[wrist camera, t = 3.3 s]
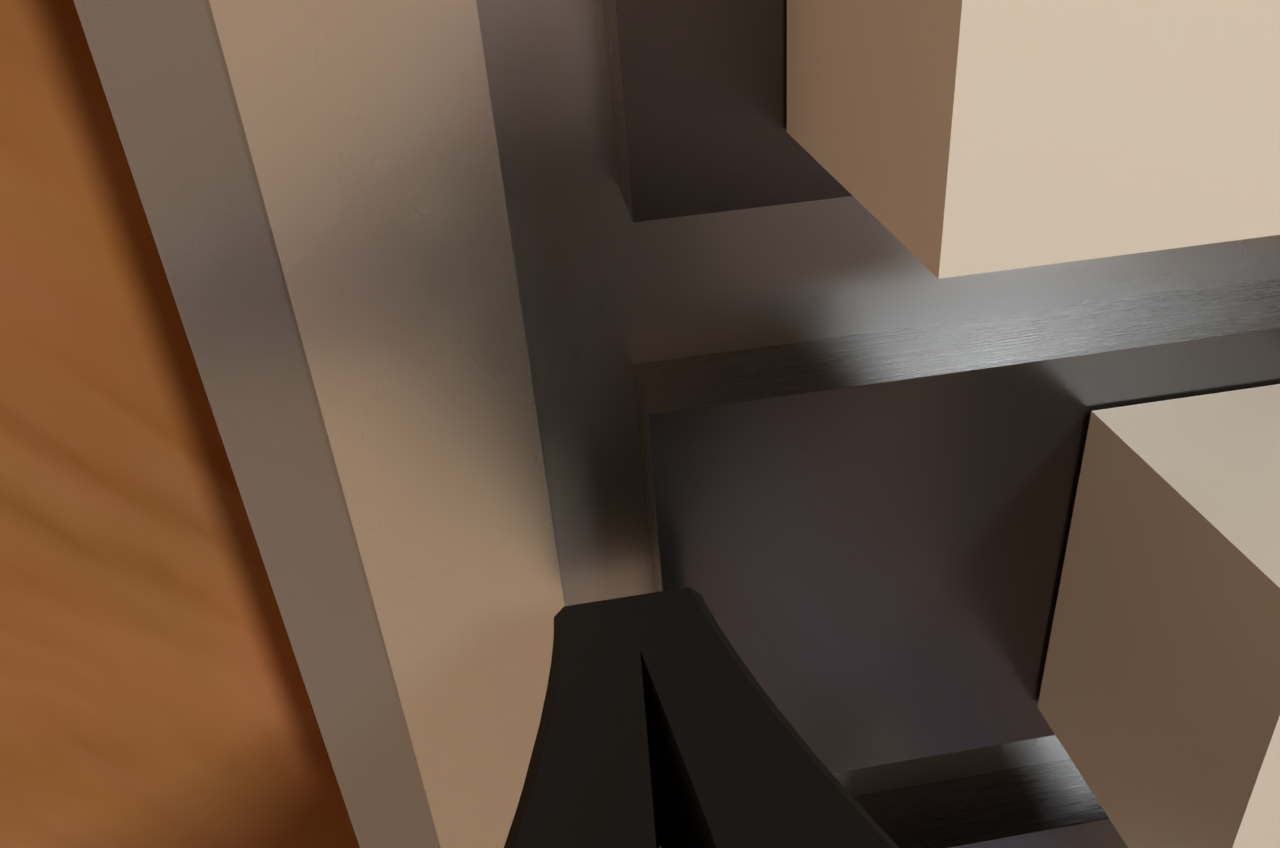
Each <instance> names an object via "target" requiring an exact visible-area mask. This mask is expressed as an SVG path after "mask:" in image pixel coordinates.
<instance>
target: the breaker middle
mask: <svg viewBox="0 0 1280 848" xmlns="http://www.w3.org/2000/svg"><path fill="white" fill-rule="evenodd" d="M1038 709H1039V710H1040V712H1041V713H1042V715H1043V717H1044V718H1045V720H1046V721H1047V723H1048V724H1049V726H1050V727H1051V729H1052V731H1053V732H1054V734H1055V735H1056V737H1057V738H1058V740H1059V741H1060V743H1061V745H1062V746H1063V748H1064V749H1065V751H1066V752H1067V754H1068V755H1069V757H1070V758H1071V760H1072V762H1073V763H1074V765H1075V766H1076V768H1077V769H1078V771H1079V772H1080V774H1081V776H1082V777H1083V779H1084V780H1085V782H1086V783H1087V785H1088V786H1089V788H1090V790H1091V791H1092V793H1093V794H1094V796H1095V797H1096V799H1097V800H1098V802H1099V803H1100V805H1101V807H1102V808H1103V810H1104V811H1105V813H1106V814H1107V816H1108V817H1109V819H1110V821H1111V822H1112V824H1113V825H1114V827H1115V828H1116V830H1117V831H1118V833H1119V835H1120V836H1121V838H1122V839H1123V841H1124V842H1125V844H1126V845H1127V847H1128V848H1280V384H1276V385H1269V386H1262V387H1255V388H1248V389H1241V390H1234V391H1227V392H1220V393H1213V394H1206V395H1199V396H1192V397H1185V398H1178V399H1171V400H1164V401H1157V402H1150V403H1143V404H1136V405H1129V406H1122V407H1115V408H1108V409H1101V410H1094V411H1091V416H1090V421H1089V427H1088V432H1087V438H1086V443H1085V449H1084V454H1083V460H1082V465H1081V471H1080V476H1079V482H1078V487H1077V493H1076V498H1075V504H1074V509H1073V515H1072V520H1071V526H1070V531H1069V537H1068V542H1067V548H1066V553H1065V559H1064V564H1063V569H1062V575H1061V580H1060V586H1059V591H1058V597H1057V602H1056V608H1055V613H1054V619H1053V624H1052V630H1051V635H1050V641H1049V646H1048V652H1047V657H1046V663H1045V668H1044V674H1043V679H1042V685H1041V690H1040V696H1039V701H1038Z"/></svg>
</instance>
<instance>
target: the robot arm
mask: <svg viewBox="0 0 1280 848" xmlns="http://www.w3.org/2000/svg"><path fill="white" fill-rule="evenodd" d="M660 846H661V848H900V847H899V846H898V845H897V844H896V843H895V842H894V841H893V840H892V839H891V838H890V837H889V836H888V835H887V834H886V833H885V832H884V831H883V830H882V828H881V827H880V826H879V825H878V824H877V823H876V822H875V821H874V820H873V819H872V818H871V816H870V815H869V814H868V813H867V812H866V811H865V810H864V809H863V808H862V807H861V806H860V804H859V803H858V802H857V801H856V800H855V799H854V798H853V797H852V796H851V795H850V794H849V793H848V791H847V790H846V789H845V788H844V787H843V786H842V785H841V784H840V782H839V781H838V780H837V779H836V778H835V777H834V776H833V774H832V773H831V772H830V771H829V770H828V769H827V767H826V766H825V765H824V764H823V763H822V762H821V761H820V759H819V758H818V757H817V756H816V755H815V753H814V752H813V751H812V750H811V748H810V747H809V746H808V745H807V744H806V742H805V741H804V740H803V739H802V737H801V736H800V735H799V734H798V732H797V731H796V730H795V729H794V728H793V726H792V725H791V724H790V723H789V721H788V720H787V719H786V718H785V717H784V715H783V714H782V713H781V712H780V710H779V709H778V708H777V707H776V705H775V704H774V703H773V701H772V700H771V699H770V697H769V696H768V695H767V694H766V692H765V691H764V690H763V688H762V687H761V686H760V684H759V683H758V682H757V680H756V679H755V677H754V676H753V675H752V673H751V672H750V670H749V669H748V668H747V666H746V665H745V663H744V662H743V661H742V659H741V658H740V657H739V655H738V654H737V652H736V651H735V649H734V648H733V646H732V645H731V643H730V642H729V640H728V639H727V637H726V636H725V634H724V633H723V631H722V630H721V628H720V626H719V625H718V623H717V622H716V620H715V618H714V617H713V615H712V613H711V612H710V610H709V608H708V606H707V605H706V603H705V601H704V599H703V597H702V595H701V594H699V593H698V592H696V591H695V590H693V589H692V588H690V587H686V588H680V589H673V590H667V591H660V592H654V593H647V594H641V595H634V596H628V597H621V598H615V599H608V600H602V601H595V602H589V603H582V604H576V605H570V606H564V607H563V608H562V609H561V610H560V611H559V612H558V613H557V614H556V615H555V617H554V639H553V649H552V659H551V667H550V673H549V679H548V685H547V690H546V695H545V700H544V705H543V710H542V715H541V720H540V724H539V728H538V732H537V736H536V740H535V743H534V747H533V751H532V755H531V759H530V763H529V766H528V770H527V774H526V778H525V782H524V786H523V789H522V793H521V796H520V799H519V803H518V806H517V809H516V812H515V815H514V818H513V821H512V824H511V827H510V830H509V833H508V836H507V839H506V842H505V845H504V848H660Z"/></svg>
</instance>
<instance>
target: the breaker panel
mask: <svg viewBox="0 0 1280 848" xmlns="http://www.w3.org/2000/svg"><path fill="white" fill-rule="evenodd" d="M73 1H74V4H75V7H76V10H77V13H78V16H79V19H80V22H81V24H82V27H83V30H84V33H85V36H86V39H87V42H88V45H89V48H90V51H91V54H92V57H93V60H94V63H95V66H96V69H97V72H98V75H99V78H100V81H101V84H102V87H103V90H104V93H105V95H106V98H107V101H108V104H109V107H110V110H111V113H112V116H113V119H114V122H115V125H116V128H117V131H118V134H119V137H120V140H121V143H122V146H123V149H124V152H125V155H126V158H127V161H128V163H129V166H130V169H131V172H132V175H133V178H134V181H135V184H136V187H137V190H138V193H139V196H140V199H141V202H142V205H143V208H144V211H145V214H146V217H147V220H148V223H149V226H150V229H151V232H152V234H153V237H154V240H155V243H156V246H157V249H158V252H159V255H160V258H161V261H162V264H163V267H164V270H165V273H166V276H167V279H168V282H169V285H170V288H171V291H172V294H173V297H174V300H175V303H176V305H177V308H178V311H179V314H180V317H181V320H182V323H183V326H184V329H185V332H186V335H187V338H188V341H189V344H190V347H191V350H192V353H193V356H194V359H195V362H196V365H197V368H198V371H199V374H200V376H201V379H202V382H203V385H204V388H205V391H206V394H207V397H208V400H209V403H210V406H211V409H212V412H213V415H214V418H215V421H216V424H217V427H218V430H219V433H220V436H221V439H222V442H223V444H224V447H225V450H226V453H227V456H228V459H229V462H230V465H231V468H232V471H233V474H234V477H235V480H236V483H237V486H238V489H239V492H240V495H241V498H242V501H243V504H244V507H245V510H246V513H247V515H248V518H249V521H250V524H251V527H252V530H253V533H254V536H255V539H256V542H257V545H258V548H259V551H260V554H261V557H262V560H263V563H264V566H265V569H266V572H267V575H268V578H269V581H270V584H271V586H272V589H273V592H274V595H275V598H276V601H277V604H278V607H279V610H280V613H281V616H282V619H283V622H284V625H285V628H286V631H287V634H288V637H289V640H290V643H291V646H292V649H293V652H294V654H295V657H296V660H297V663H298V666H299V669H300V672H301V675H302V678H303V681H304V684H305V687H306V690H307V693H308V696H309V699H310V702H311V705H312V708H313V711H314V714H315V717H316V720H317V723H318V725H319V728H320V731H321V734H322V737H323V740H324V743H325V746H326V749H327V752H328V755H329V758H330V761H331V764H332V767H333V770H334V773H335V776H336V779H337V782H338V785H339V788H340V791H341V794H342V796H343V799H344V802H345V805H346V808H347V811H348V814H349V817H350V820H351V823H352V826H353V829H354V832H355V835H356V838H357V841H358V844H359V847H360V848H504V845H505V842H506V839H507V836H508V833H509V830H510V827H511V824H512V821H513V818H514V815H515V812H516V809H517V806H518V803H519V799H520V796H521V793H522V789H523V786H524V782H525V778H526V774H527V770H528V766H529V763H530V759H531V755H532V751H533V747H534V743H535V740H536V736H537V732H538V728H539V724H540V720H541V715H542V710H543V705H544V700H545V695H546V690H547V685H548V679H549V673H550V667H551V659H552V649H553V639H554V617H555V615H556V614H557V613H558V612H559V611H560V610H561V609H562V608H563V607H564V606H570V605H576V604H582V603H589V602H595V601H602V600H608V599H615V598H621V597H628V596H634V595H641V594H647V593H654V592H660V591H667V590H673V589H680V588H686V587H690V588H692V589H693V590H695V591H696V592H698V593H699V594H701V595H702V597H703V599H704V601H705V603H706V605H707V606H708V608H709V610H710V612H711V613H712V615H713V617H714V618H715V620H716V622H717V623H718V625H719V626H720V628H721V630H722V631H723V633H724V634H725V636H726V637H727V639H728V640H729V642H730V643H731V645H732V646H733V648H734V649H735V651H736V652H737V654H738V655H739V657H740V658H741V659H742V661H743V662H744V663H745V665H746V666H747V668H748V669H749V670H750V672H751V673H752V675H753V676H754V677H755V679H756V680H757V682H758V683H759V684H760V686H761V687H762V688H763V690H764V691H765V692H766V694H767V695H768V696H769V697H770V699H771V700H772V701H773V703H774V704H775V705H776V707H777V708H778V709H779V710H780V712H781V713H782V714H783V715H784V717H785V718H786V719H787V720H788V721H789V723H790V724H791V725H792V726H793V728H794V729H795V730H796V731H797V732H798V734H799V735H800V736H801V737H802V739H803V740H804V741H805V742H806V744H807V745H808V746H809V747H810V748H811V750H812V751H813V752H814V753H815V755H816V756H817V757H818V758H819V759H820V761H821V762H822V763H823V764H824V765H825V766H826V767H827V769H828V770H829V771H830V772H831V773H832V774H833V776H834V777H835V778H836V779H837V780H838V781H839V782H840V784H841V785H842V786H843V787H844V788H845V789H846V790H847V791H848V793H849V794H850V795H851V796H852V797H853V798H854V799H855V800H856V801H857V802H858V803H859V804H860V806H861V807H862V808H863V809H864V810H865V811H866V812H867V813H868V814H869V815H870V816H871V818H872V819H873V820H874V821H875V822H876V823H877V824H878V825H879V826H880V827H881V828H882V830H883V831H884V832H885V833H886V834H887V835H888V836H889V837H890V838H891V839H892V840H893V841H894V842H895V843H896V844H897V845H898V846H899V847H900V848H1128V847H1127V845H1126V844H1125V842H1124V841H1123V839H1122V838H1121V836H1120V835H1119V833H1118V831H1117V830H1116V828H1115V827H1114V825H1113V824H1112V822H1111V821H1110V819H1109V817H1108V816H1107V814H1106V813H1105V811H1104V810H1103V808H1102V807H1101V805H1100V803H1099V802H1098V800H1097V799H1096V797H1095V796H1094V794H1093V793H1092V791H1091V790H1090V788H1089V786H1088V785H1087V783H1086V782H1085V780H1084V779H1083V777H1082V776H1081V774H1080V772H1079V771H1078V769H1077V768H1076V766H1075V765H1074V763H1073V762H1072V760H1071V758H1070V757H1069V755H1068V754H1067V752H1066V751H1065V749H1064V748H1063V746H1062V745H1061V743H1060V741H1059V740H1058V738H1057V737H1056V735H1055V734H1054V732H1053V731H1052V729H1051V727H1050V726H1049V724H1048V723H1047V721H1046V720H1045V718H1044V717H1043V715H1042V713H1041V712H1040V710H1039V709H1038V701H1039V696H1040V690H1041V685H1042V679H1043V674H1044V668H1045V663H1046V657H1047V652H1048V646H1049V641H1050V635H1051V630H1052V624H1053V619H1054V613H1055V608H1056V602H1057V597H1058V591H1059V586H1060V580H1061V575H1062V569H1063V564H1064V559H1065V553H1066V548H1067V542H1068V537H1069V531H1070V526H1071V520H1072V515H1073V509H1074V504H1075V498H1076V493H1077V487H1078V482H1079V476H1080V471H1081V465H1082V460H1083V454H1084V449H1085V443H1086V438H1087V432H1088V427H1089V421H1090V416H1091V411H1094V410H1101V409H1108V408H1115V407H1122V406H1129V405H1136V404H1143V403H1150V402H1157V401H1164V400H1171V399H1178V398H1185V397H1192V396H1199V395H1206V394H1213V393H1220V392H1227V391H1234V390H1241V389H1248V388H1255V387H1262V386H1269V385H1276V384H1280V235H1274V236H1266V237H1258V238H1251V239H1243V240H1235V241H1227V242H1220V243H1212V244H1204V245H1196V246H1189V247H1181V248H1173V249H1166V250H1158V251H1150V252H1142V253H1135V254H1127V255H1119V256H1111V257H1104V258H1096V259H1088V260H1080V261H1073V262H1065V263H1057V264H1049V265H1042V266H1034V267H1026V268H1018V269H1011V270H1003V271H995V272H987V273H980V274H972V275H964V276H956V277H949V278H941V279H938V278H937V277H936V276H935V275H934V274H933V273H932V272H931V271H930V270H929V269H928V268H927V267H926V266H925V265H924V264H923V263H922V262H921V261H920V260H919V259H918V258H917V257H915V256H914V255H913V254H912V253H911V252H910V251H909V250H908V249H907V248H906V247H905V246H904V245H903V244H902V243H901V242H900V241H899V240H898V239H897V238H896V237H895V236H894V235H893V234H892V233H891V232H890V231H889V230H888V229H887V228H885V227H884V226H883V225H882V224H881V223H880V222H879V221H878V220H877V219H876V218H875V217H874V216H873V215H872V214H871V213H870V212H869V211H868V210H867V209H866V208H865V207H864V206H863V205H862V204H861V203H860V202H859V201H858V200H857V199H855V198H854V197H853V196H852V195H851V194H850V193H849V192H848V191H847V190H846V189H845V188H844V187H843V186H842V185H841V184H840V183H839V182H838V181H837V180H836V179H835V178H834V177H833V176H832V175H831V174H830V173H829V172H828V171H827V170H825V169H824V168H823V167H822V166H821V165H820V164H819V163H818V162H817V161H816V160H815V159H814V158H813V157H812V156H811V155H810V154H809V153H808V152H807V151H806V150H805V149H804V148H803V147H802V146H801V145H800V144H799V143H798V142H797V141H796V140H794V139H793V138H792V137H791V136H790V135H789V134H788V133H787V0H73ZM660 848H661V846H660Z"/></svg>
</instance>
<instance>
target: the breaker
mask: <svg viewBox="0 0 1280 848" xmlns="http://www.w3.org/2000/svg"><path fill="white" fill-rule="evenodd" d="M787 133H788V134H789V135H790V136H791V137H792V138H793V139H794V140H796V141H797V142H798V143H799V144H800V145H801V146H802V147H803V148H804V149H805V150H806V151H807V152H808V153H809V154H810V155H811V156H812V157H813V158H814V159H815V160H816V161H817V162H818V163H819V164H820V165H821V166H822V167H823V168H824V169H825V170H827V171H828V172H829V173H830V174H831V175H832V176H833V177H834V178H835V179H836V180H837V181H838V182H839V183H840V184H841V185H842V186H843V187H844V188H845V189H846V190H847V191H848V192H849V193H850V194H851V195H852V196H853V197H854V198H855V199H857V200H858V201H859V202H860V203H861V204H862V205H863V206H864V207H865V208H866V209H867V210H868V211H869V212H870V213H871V214H872V215H873V216H874V217H875V218H876V219H877V220H878V221H879V222H880V223H881V224H882V225H883V226H884V227H885V228H887V229H888V230H889V231H890V232H891V233H892V234H893V235H894V236H895V237H896V238H897V239H898V240H899V241H900V242H901V243H902V244H903V245H904V246H905V247H906V248H907V249H908V250H909V251H910V252H911V253H912V254H913V255H914V256H915V257H917V258H918V259H919V260H920V261H921V262H922V263H923V264H924V265H925V266H926V267H927V268H928V269H929V270H930V271H931V272H932V273H933V274H934V275H935V276H936V277H937V278H938V279H941V278H949V277H956V276H964V275H972V274H980V273H987V272H995V271H1003V270H1011V269H1018V268H1026V267H1034V266H1042V265H1049V264H1057V263H1065V262H1073V261H1080V260H1088V259H1096V258H1104V257H1111V256H1119V255H1127V254H1135V253H1142V252H1150V251H1158V250H1166V249H1173V248H1181V247H1189V246H1196V245H1204V244H1212V243H1220V242H1227V241H1235V240H1243V239H1251V238H1258V237H1266V236H1274V235H1280V0H787Z"/></svg>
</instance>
